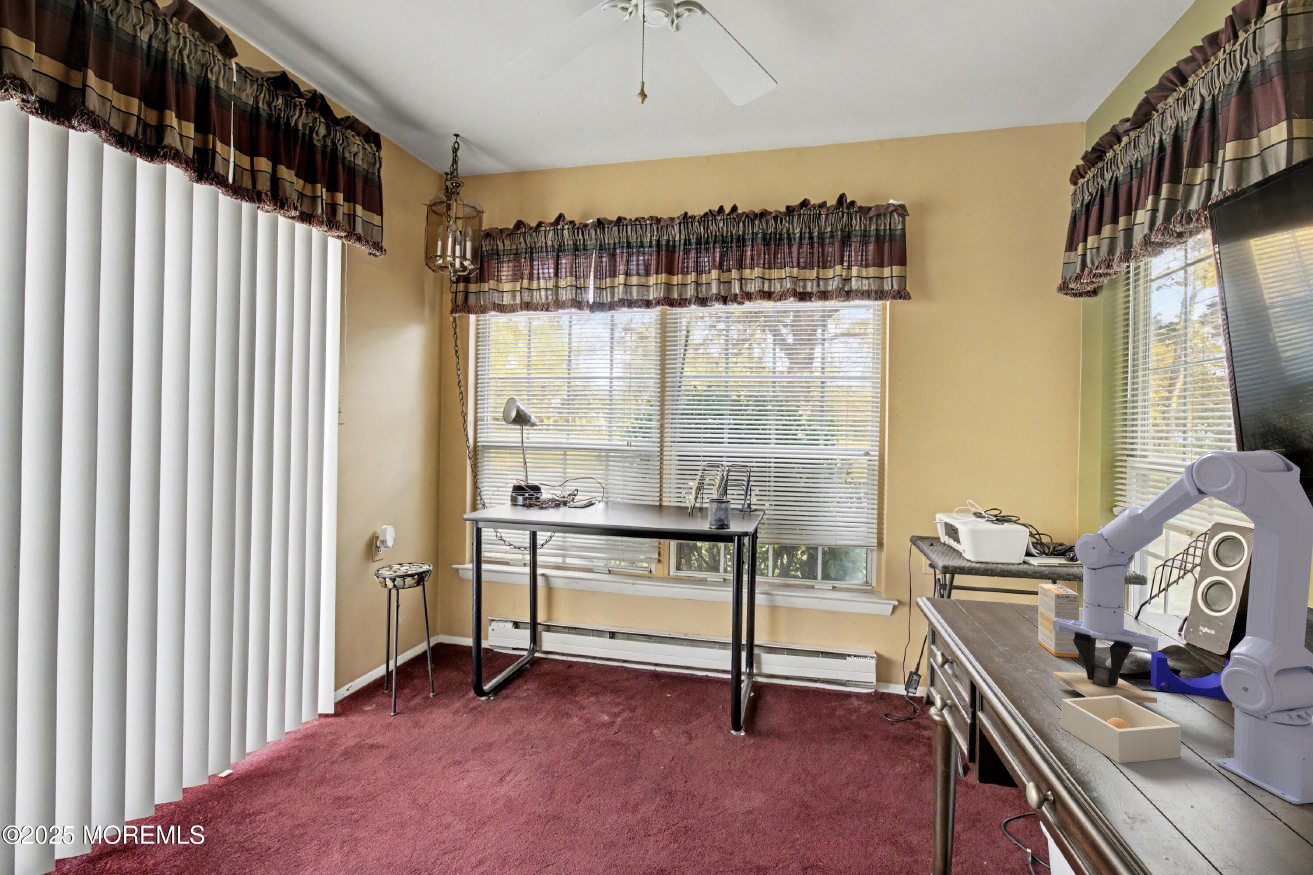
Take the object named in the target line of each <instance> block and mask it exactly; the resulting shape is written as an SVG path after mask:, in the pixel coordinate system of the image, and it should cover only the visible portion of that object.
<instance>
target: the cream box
mask: <svg viewBox="0 0 1313 875" xmlns="http://www.w3.org/2000/svg"><path fill="white" fill-rule="evenodd" d="M1111 718H1120V719H1122V720H1124V721H1125V722H1127V723H1128V725H1129V726H1130V728H1126V729H1118V728H1116V727H1114V726H1112V725H1111V724H1109V723H1107V721H1108V720H1109V719H1111ZM1060 725H1061V727H1060V728H1061V729H1063V730H1065V731H1066V732H1067V733H1069V734H1071V735H1073V736H1074V737H1076V738H1077V739H1079V740H1080V741H1082V742H1083V743H1085V744H1086V745H1089V746H1090V747H1092V748H1093V749H1095V750H1097V751H1098V752H1099V753H1101V754H1103V755H1104V756H1106V757H1108V758H1109V759H1111V760H1113V761H1115V763H1117V764H1123V763H1125V764H1126V763H1135V762H1147V761H1157V760H1170V759H1180V758H1182V756H1181V752H1182V725H1179V724H1178V723H1175V722H1174V721H1172V720H1169V719H1168V718H1165V717H1163V716H1161V715H1159V714H1157V713H1155V712H1153V711H1151V710H1149V709H1147V708H1145V707H1143V706H1141V705H1139V704H1138V703H1133V702H1131V701H1129V700H1127V699H1125V698H1123V697H1121V696H1119V695H1113V696H1099V697H1086V696H1085V697H1076V698H1064V699H1063V698H1061V724H1060Z"/></svg>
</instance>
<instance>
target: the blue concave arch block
mask: <svg viewBox="0 0 1313 875" xmlns="http://www.w3.org/2000/svg"><path fill="white" fill-rule="evenodd" d="M1229 662H1230V660H1225V664H1224V667H1223V670H1224V669H1225V668H1226V667H1227V666H1228V664H1229ZM1223 670H1222V671H1221V672H1220V673H1215V672H1212V673H1211V674H1210V675H1206V676H1204V677H1198V678H1197V677H1196V678H1194V677H1189V680H1188V679H1185V678H1182V677H1180V676H1178V675H1176V674H1175V673H1174V672H1172V670H1171V668H1170V666H1169V663H1168V657H1167V656H1165V654H1164V653H1163V652H1161V651H1160V652H1159V651H1156V652H1151V651H1150V684H1151V685H1152V687H1154V689H1155V690H1157V691H1164V692H1172V693H1179V694H1185V695H1192V696H1197V697H1198V696H1200V697H1205V698H1214V699H1221V700H1226V701H1227V700H1228V701H1230V700H1229V699H1228V697H1227V696H1226V694H1225V693H1224V691H1223V689H1222V685H1221V674H1222V672H1223Z"/></svg>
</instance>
